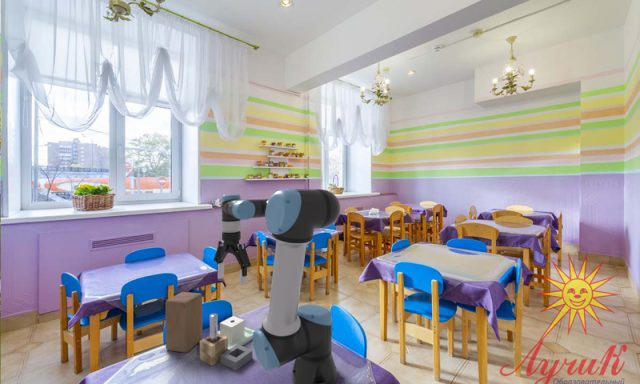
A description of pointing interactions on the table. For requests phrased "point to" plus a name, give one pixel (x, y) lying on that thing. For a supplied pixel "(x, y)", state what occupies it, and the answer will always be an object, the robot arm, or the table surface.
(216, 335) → the steel pin
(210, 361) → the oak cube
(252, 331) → the mint tray
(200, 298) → the wooden block
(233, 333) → the white cube
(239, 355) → the pin stand
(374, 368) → the table surface
